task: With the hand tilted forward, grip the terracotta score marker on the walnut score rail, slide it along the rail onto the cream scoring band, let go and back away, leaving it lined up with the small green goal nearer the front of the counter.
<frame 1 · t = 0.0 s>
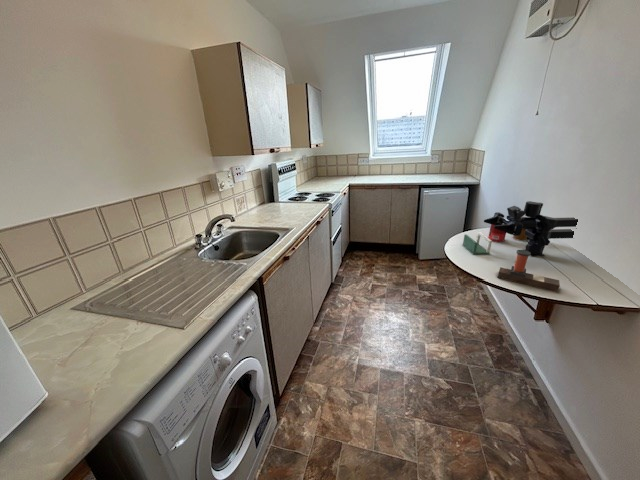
hand: (489, 223, 130), 17 cm above the table, tool horizontal, fingers open, 9 cm apart
canned food: (495, 239, 153), on the table
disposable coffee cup: (519, 238, 153), on the table
score marker: (520, 262, 110), point 8 cm above the table, slide at 0.0 cm
goal: (475, 249, 142), on the table
score rail: (526, 281, 111), on the table
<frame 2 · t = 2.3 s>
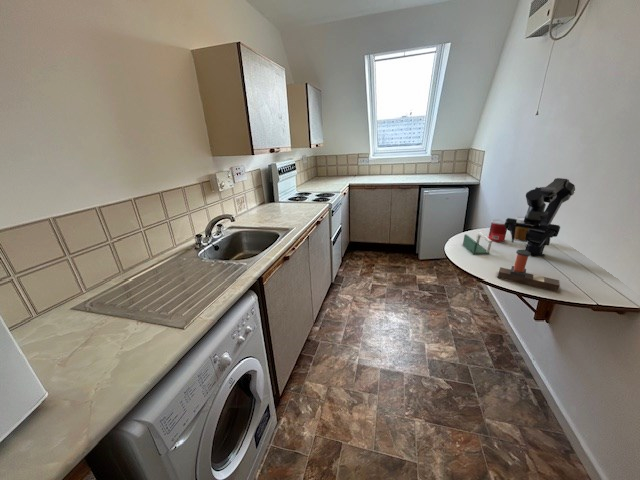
hand: (525, 243, 114), 14 cm above the table, tool tilted 45°, fingers open, 9 cm apart
nothing on the table moved.
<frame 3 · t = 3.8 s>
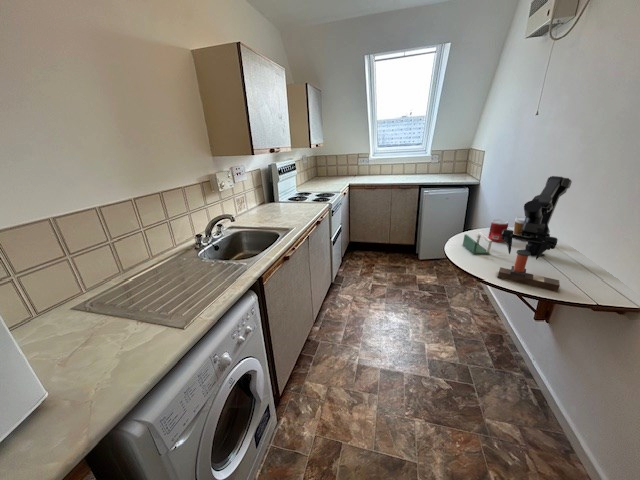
hand: (522, 256, 111), 10 cm above the table, tool tilted 45°, fingers open, 9 cm apart
nothing on the table moved.
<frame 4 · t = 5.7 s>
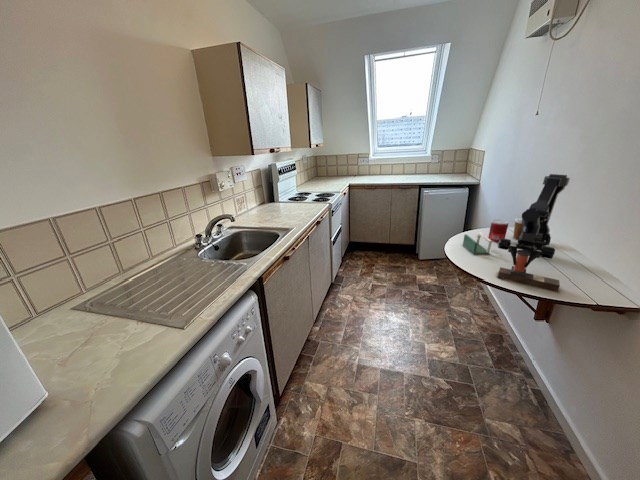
hand: (519, 266, 110), 7 cm above the table, tool tilted 45°, fingers closed on score marker, 3 cm apart
score marker: (520, 262, 110), point 8 cm above the table, slide at 0.0 cm, touching gripper
everything else where it was.
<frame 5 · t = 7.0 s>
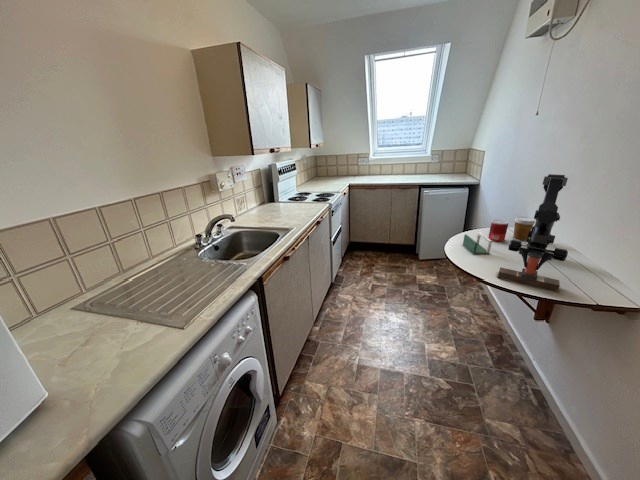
hand: (531, 268, 107), 7 cm above the table, tool tilted 45°, fingers closed on score marker, 3 cm apart
score marker: (532, 265, 108), point 8 cm above the table, slide at 3.8 cm, touching gripper
everything else where it was.
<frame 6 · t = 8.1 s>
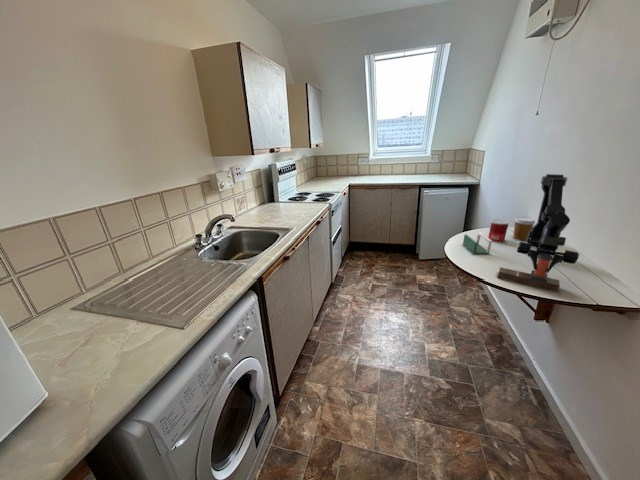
hand: (540, 271, 106), 7 cm above the table, tool tilted 45°, fingers closed on score marker, 4 cm apart
score marker: (542, 267, 106), point 8 cm above the table, slide at 7.0 cm, touching gripper
everything else where it was.
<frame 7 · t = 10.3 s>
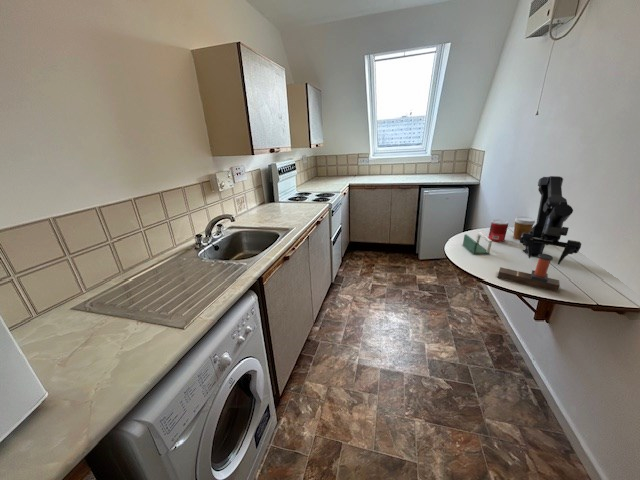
hand: (543, 260, 107), 10 cm above the table, tool tilted 45°, fingers open, 9 cm apart
score marker: (542, 267, 106), point 8 cm above the table, slide at 7.0 cm
everything else where it was.
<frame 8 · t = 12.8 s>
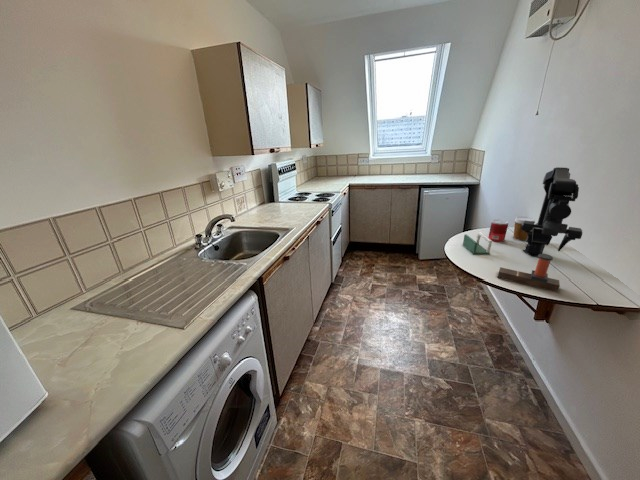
hand: (544, 248, 111), 13 cm above the table, tool pointing down, fingers open, 9 cm apart
nothing on the table moved.
at the end: score marker slide at 7.0 cm; the gripper is holding nothing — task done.
